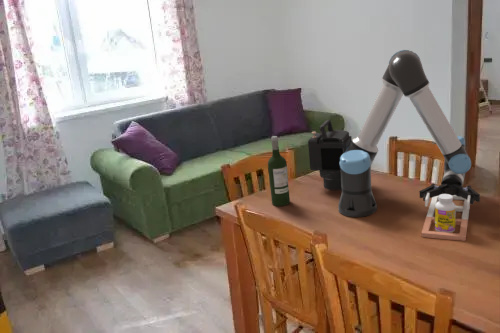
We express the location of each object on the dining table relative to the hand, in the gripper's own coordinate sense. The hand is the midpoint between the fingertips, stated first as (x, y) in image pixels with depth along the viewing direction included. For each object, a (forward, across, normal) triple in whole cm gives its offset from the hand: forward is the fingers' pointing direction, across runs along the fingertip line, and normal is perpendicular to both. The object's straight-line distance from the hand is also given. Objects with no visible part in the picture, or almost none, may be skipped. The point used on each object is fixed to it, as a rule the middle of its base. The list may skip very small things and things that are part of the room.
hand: (446, 204), depth 169 cm
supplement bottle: (+1, 0, -10) cm, 10 cm away
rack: (-11, 0, -9) cm, 14 cm away
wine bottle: (-11, +69, -10) cm, 70 cm away
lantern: (-36, +52, -10) cm, 64 cm away
